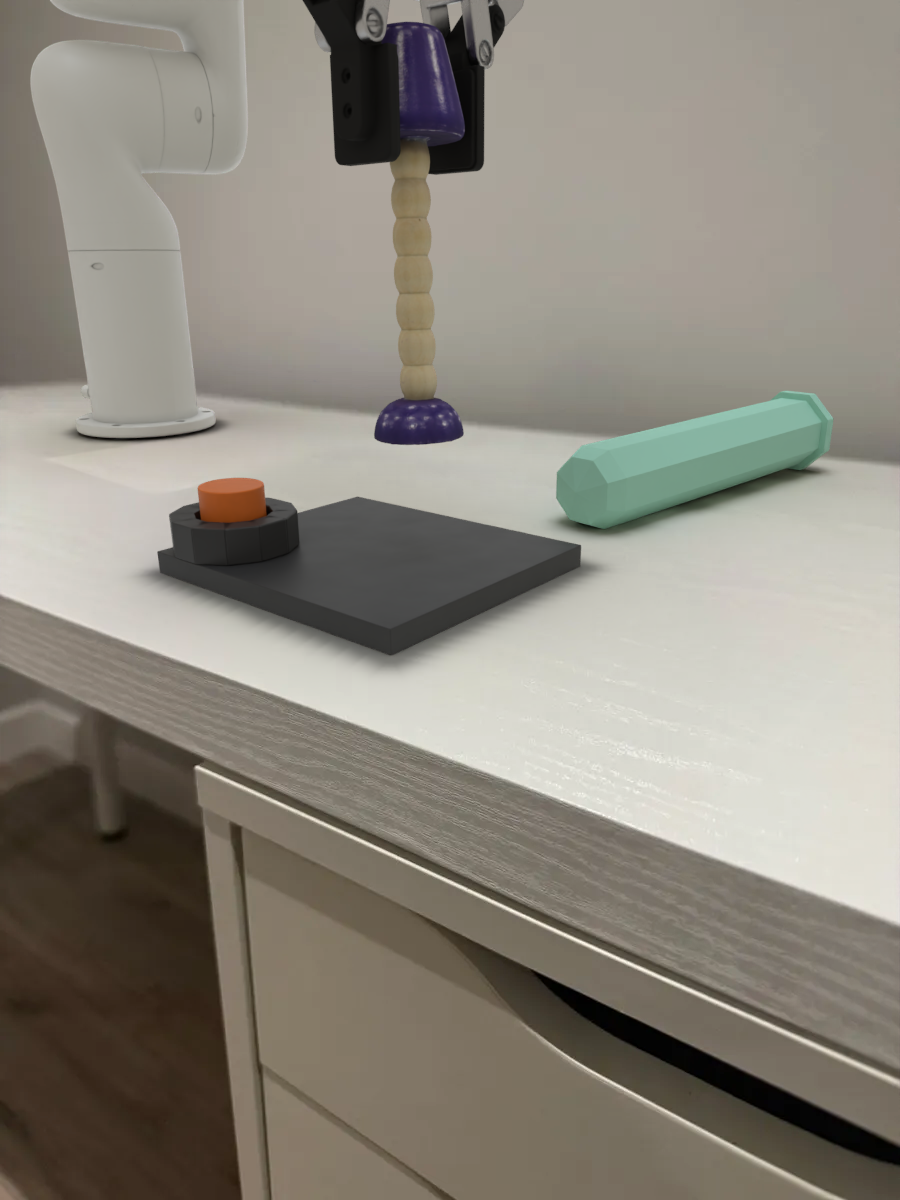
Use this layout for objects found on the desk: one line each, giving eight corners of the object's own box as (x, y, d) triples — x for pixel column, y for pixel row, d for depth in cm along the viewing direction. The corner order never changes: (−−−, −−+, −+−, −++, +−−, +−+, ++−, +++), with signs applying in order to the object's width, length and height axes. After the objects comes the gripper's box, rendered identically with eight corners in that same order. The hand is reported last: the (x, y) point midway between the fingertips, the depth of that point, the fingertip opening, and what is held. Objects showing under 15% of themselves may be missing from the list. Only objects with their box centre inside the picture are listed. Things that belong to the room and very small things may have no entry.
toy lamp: (347, 437, 42) (327, 28, 36) (416, 424, 45) (408, 46, 39) (419, 450, 39) (410, 5, 33) (488, 435, 42) (491, 27, 36)
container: (600, 428, 47) (823, 378, 63) (525, 454, 52) (750, 402, 67) (628, 534, 48) (843, 458, 63) (552, 551, 52) (769, 477, 68)
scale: (152, 571, 45) (144, 514, 43) (352, 513, 55) (349, 465, 54) (390, 657, 35) (387, 586, 34) (580, 567, 45) (583, 510, 44)
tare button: (188, 520, 44) (183, 486, 43) (240, 507, 46) (237, 474, 45) (227, 531, 42) (224, 496, 41) (279, 517, 44) (277, 483, 44)
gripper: (466, -263, 40) (467, 184, 46) (126, -491, 27) (192, 159, 34) (613, -331, 35) (590, 175, 42) (284, -641, 23) (325, 142, 29)
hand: (411, 163), depth 38 cm, fingers closed on toy lamp, 4 cm apart
